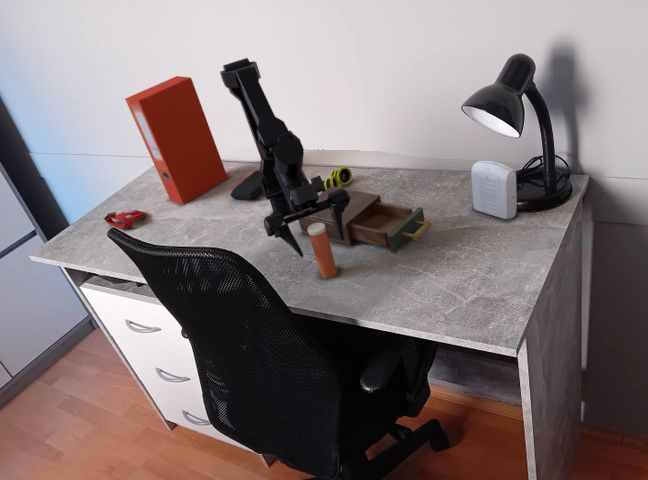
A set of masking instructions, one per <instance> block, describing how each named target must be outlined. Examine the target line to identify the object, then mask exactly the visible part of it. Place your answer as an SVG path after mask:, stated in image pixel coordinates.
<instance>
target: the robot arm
mask: <svg viewBox="0 0 648 480" xmlns="http://www.w3.org/2000/svg"><path fill="white" fill-rule="evenodd" d="M222 67H223V70H221V71H219V74H220V78H221V80H222V83H223V85H224V87H225V88H227V89H228V91H229V93H230V95H232V96H233V97H234V98H235V99H236V100H237V101H239V102H240V106H241V108H242V110H243V113H244V116H245V119H246V122H247V124H248V127H249V130H250V132H251V135H252V139H253V140H254V144H255V146H256V148H257V152H258V155H259V157H260V164H259V170H258V171H259V172H260V175H261V178H260V186H261V189H262V192H263V194H262V195H263V196H264V197H265V199H266V200H267V201H269V203H270V205H271V208H272V213H271V214H270V215H268V216H267V215H266V216H265V217H264V219H263V227H264V231H265V232H266V235H267V237H268V238H269V237H272V236H274V238H275V239H278V238H281V239H282V240H283V241H284V242H286V243H287V244H288V245H289V246H290V247H291V248H292V249H293V250H294V251H295V252H296V253H297V254H298V255H299V256H300V258H303V257H304V252H303V251H302V248H301V247H300V245H299V243H298V241H297V239H296V238H295V236H294V235H293V233H292V230H291V228H290V226H289V225H290V224H293V223H294V222H296V221H299V219H302V218H305V217H307V216H310V215H313V214H315V213H318V212H320V211H323V210H326V209H328V208H330V210H332V213H331V216H332V219H333V222H334V224H335V227H336V230H337V232H338V235H339V237H340V239H341V241H344V236H343V227H342V213H343V212H344V210H345V208H346V207H347V206H348V204H349V201H350V195H349V193H348V191H347V190H346V189H347V188H344V187H341V188H342V189H339V190H336V191H334V192H331V193H328V198H327V200H324V201H321V202H319V203H317V201H318V199H319V195H320V193H322V192H321V191H324V190H325V186H324V183H323V181H324V180H323V179H322V176H321V175H320V174H319V175H316V176H314V177H312V178H310V181H309V180H308V178H307V175H306V174H305V172H304V169H303V165H304V155H305V154H304V153H305V151H304V145H303V144H302V141H301V139H300V137H298V136H297V135H296V134H294V133H293V131H292V130H291V129H289V128H288V126H287V125H286V123H285V121H284V120H282V119H280V118H279V117H277V116H276V115H275V113H274V111H273V108H272V107H271V105H270V102H269V100H268V98H267V96H266V94H265V92H264V90H263V88H262V85H261V83H260V79H261V78H262V76H261V73H260V69H259V65H258V64H257V61H254V60H252V61H250V59H249V58H248V57H245V58H241V59H238V60H235V61H232V62H229V63H226V64H223V65H222ZM310 182H311V183H310ZM313 209H314V210H313ZM300 214H301V215H300Z"/></svg>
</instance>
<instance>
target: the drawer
mask: <svg viewBox="0 0 648 480" xmlns="http://www.w3.org/2000/svg"><path fill="white" fill-rule="evenodd" d="M381 202H382V201H381ZM381 202H375V203H374V204H373V205H372V206H371V207H369V208H368V209H367V210H366V211H365V212H364V213H362V214H361V215H360V216H359V217H358V218H356V219H355V220H354V221H353V222H352V223H351V224H349V225H348V227H349V231H350V235H351V239H354V240H358V241H359V242H363V243H365V244H370V245H375V246H378V247H382V248H386V249H388V248H389V250H390V253H393V254H396V253H397V252H398V251H399V250H400V249H401V248H402V247H403V246H404V245H405V244H407V242H408V241H409V240H411V239H412V240H413V241H415V242H417V241H418V240H419V239H420V238H421V237H422V236H423V235H424V234H425V233H426V232H427V231H428V230H429V229H430V228H431V227H432V225H433V223H432V222H431V221H429V220H427V221H426V220H425V214H424V208H423V207H419V206H418V207H417V208H416V209H414V211H413V208H412V207H406V206H400V205H395V204H391V203H386V202H382V203H381ZM358 241H357V242H358Z"/></svg>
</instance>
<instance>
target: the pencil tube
mask: <svg viewBox="0 0 648 480" xmlns="http://www.w3.org/2000/svg"><path fill="white" fill-rule="evenodd" d="M307 230H308V233H309V235H308V236H309V239H310V242H311V246H312V249H313V252H314V256H315V259H316V262H317V266H318V269H319V272H320V276H321V277H322V278H323V279H331V278H334V277H335V276H336V275H337V274H338V268H337V265H336V261H335V258H334V254H333V251H332V248H331V243H330V241H329V239H328V236H327V232H326V228H325V224H324V223H320V222H318V223H314V224H311V225H310V226H309V227H308V229H307Z"/></svg>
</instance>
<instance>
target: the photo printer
mask: <svg viewBox="0 0 648 480" xmlns="http://www.w3.org/2000/svg"><path fill="white" fill-rule="evenodd" d="M470 171H471V172H470V173H471V187H472V200H473V201H472V204H473V209H474V210H475V211H477V212H480V213H484V214H487V215H490V216H493V217H497V218H500V219H504V220H511V219H513V218H514V217H515V216H516V213H517V210H518V209H517V208H518V207H517V206H518V204H517V203H518V202H517V201H518V199H517V172H516V170H514V168H511V167H510V166H509V165H507V164H503V163H501V162H498V161H492V160H478V161H476V162H475V163H473V165H472V167H471V170H470Z"/></svg>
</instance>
